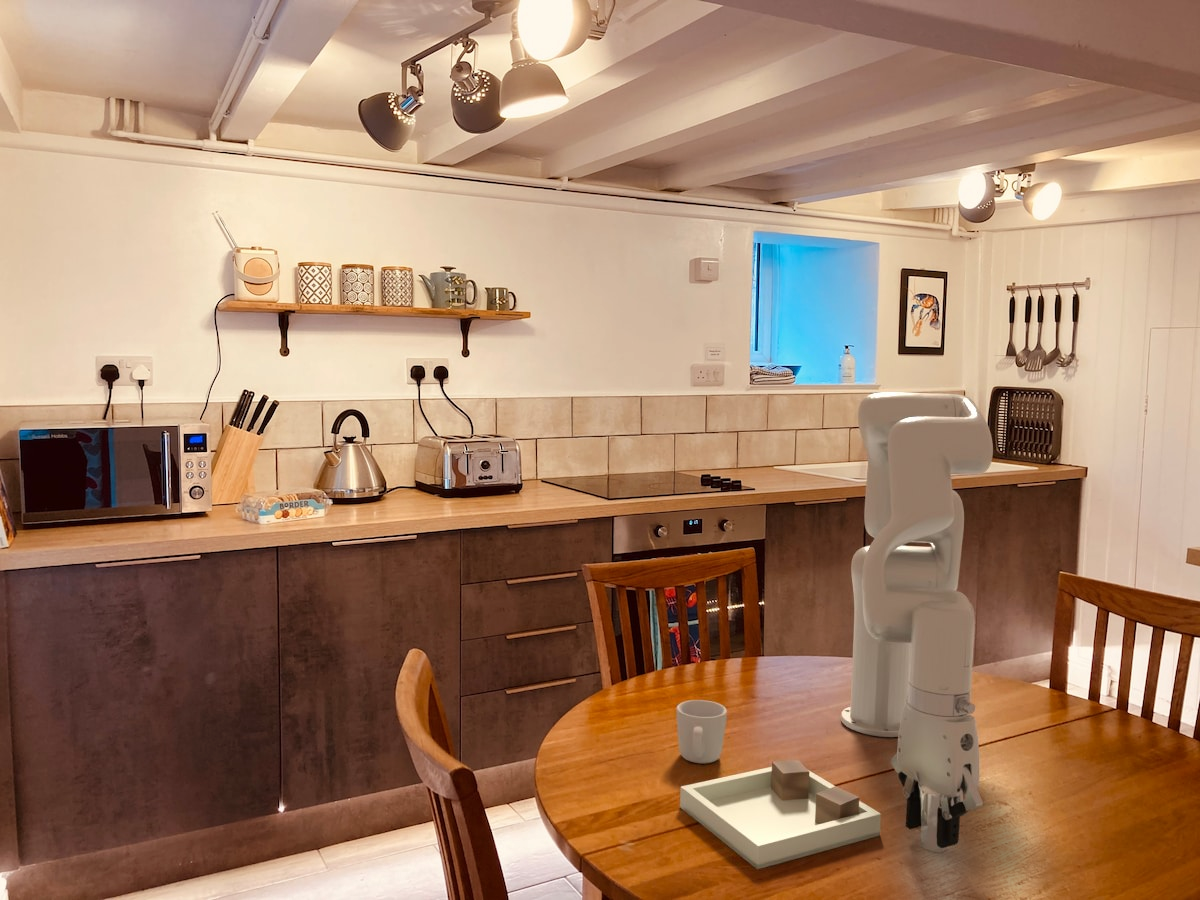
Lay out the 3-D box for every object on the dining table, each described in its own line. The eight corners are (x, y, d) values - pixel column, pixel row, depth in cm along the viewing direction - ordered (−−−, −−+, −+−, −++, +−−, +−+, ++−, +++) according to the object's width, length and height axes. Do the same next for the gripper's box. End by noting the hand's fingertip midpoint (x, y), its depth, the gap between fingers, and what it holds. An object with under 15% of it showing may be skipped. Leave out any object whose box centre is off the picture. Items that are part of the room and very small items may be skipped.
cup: (722, 778, 141) (724, 726, 141) (669, 772, 143) (671, 721, 142) (727, 750, 152) (728, 701, 151) (678, 745, 153) (679, 697, 153)
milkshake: (903, 838, 124) (907, 765, 123) (942, 837, 125) (946, 764, 124) (918, 856, 120) (922, 780, 119) (958, 855, 120) (963, 779, 119)
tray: (793, 781, 141) (794, 761, 140) (880, 835, 125) (881, 813, 125) (680, 807, 132) (680, 786, 131) (757, 869, 116) (758, 846, 115)
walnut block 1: (796, 786, 138) (797, 759, 137) (808, 798, 134) (809, 771, 133) (771, 788, 137) (772, 761, 136) (781, 800, 133) (783, 773, 133)
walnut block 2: (834, 814, 129) (835, 786, 129) (858, 825, 126) (859, 797, 126) (815, 822, 127) (816, 793, 126) (838, 834, 124) (840, 805, 123)
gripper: (1014, 717, 115) (1006, 860, 116) (911, 675, 130) (904, 802, 131) (971, 726, 111) (962, 874, 113) (869, 682, 126) (863, 813, 128)
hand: (931, 834), depth 122 cm, fingers open, 4 cm apart
